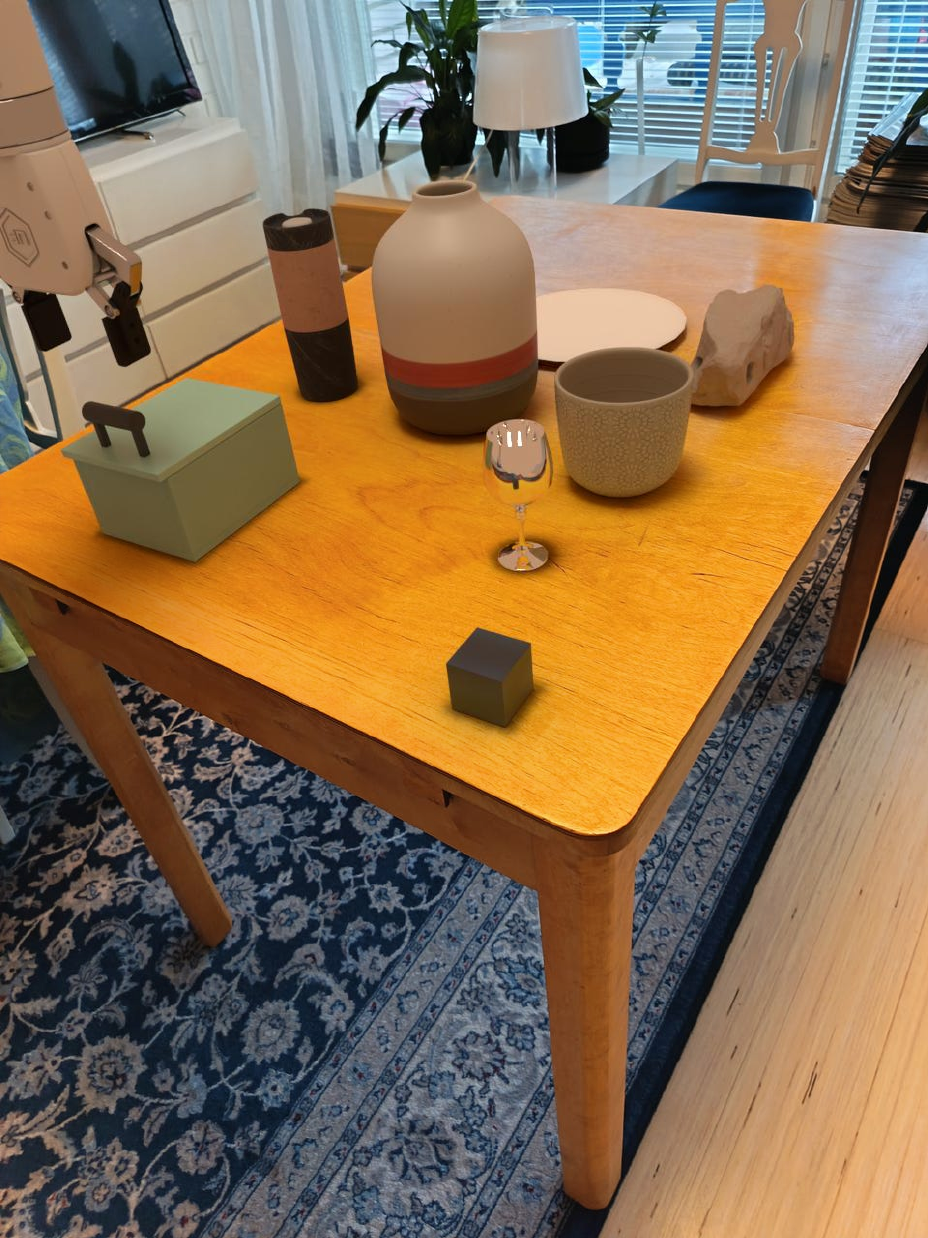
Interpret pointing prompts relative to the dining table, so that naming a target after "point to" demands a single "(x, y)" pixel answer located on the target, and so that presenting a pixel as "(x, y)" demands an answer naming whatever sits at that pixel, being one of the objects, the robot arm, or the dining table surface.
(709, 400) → the decorative stone
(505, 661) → the block
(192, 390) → the cool box lid
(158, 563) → the dining table surface
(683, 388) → the planter
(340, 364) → the travel mug
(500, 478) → the wineglass
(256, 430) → the cool box
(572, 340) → the plate
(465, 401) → the vase
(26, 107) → the robot arm
